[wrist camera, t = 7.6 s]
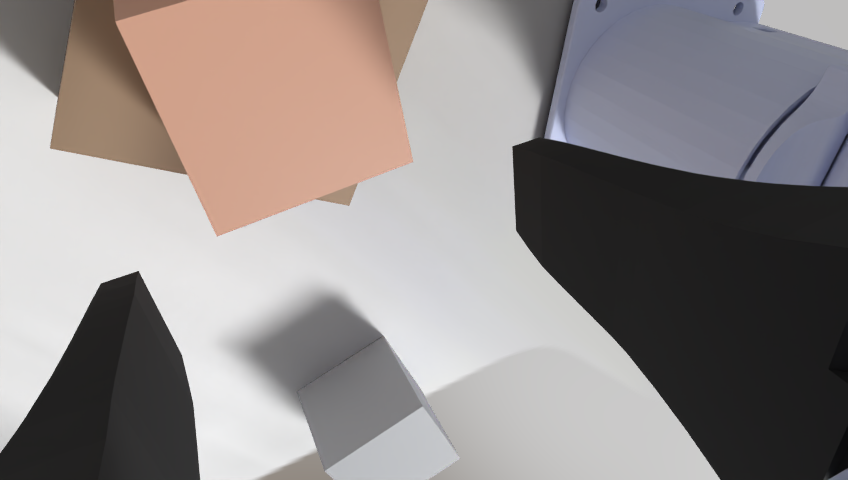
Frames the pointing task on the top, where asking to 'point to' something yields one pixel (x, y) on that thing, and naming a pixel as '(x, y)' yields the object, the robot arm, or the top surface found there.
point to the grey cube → (375, 420)
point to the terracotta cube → (269, 97)
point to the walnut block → (130, 100)
